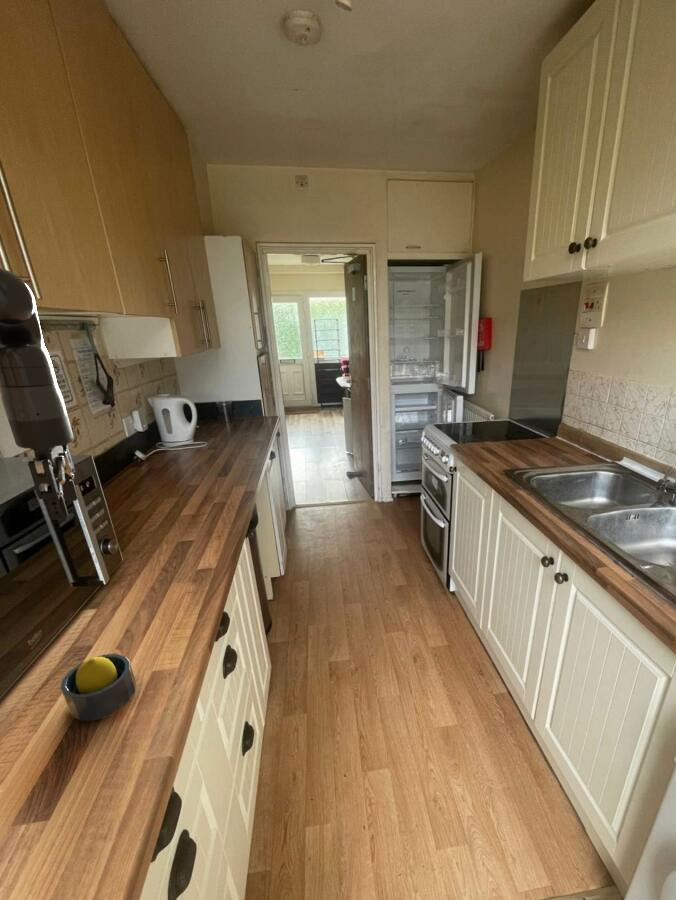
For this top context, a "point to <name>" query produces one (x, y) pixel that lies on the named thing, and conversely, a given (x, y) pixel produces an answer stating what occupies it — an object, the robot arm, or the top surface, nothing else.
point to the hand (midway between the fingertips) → (66, 509)
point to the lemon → (95, 675)
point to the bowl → (100, 692)
